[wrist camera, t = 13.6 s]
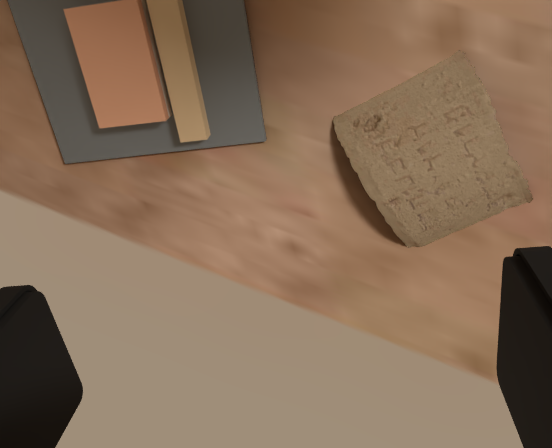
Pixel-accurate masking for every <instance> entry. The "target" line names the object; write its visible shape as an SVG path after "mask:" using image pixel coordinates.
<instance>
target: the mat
mask: <svg viewBox="0 0 552 448" xmlns="http://www.w3.org/2000/svg"><path fill="white" fill-rule="evenodd" d="M7 1H8V4H9V6H10V9H11V12H12V15H13V18H14V21H15V23H16V26H17V29H18V32H19V35H20V38H21V40H22V43H23V46H24V49H25V52H26V55H27V57H28V60H29V63H30V66H31V69H32V72H33V74H34V77H35V80H36V83H37V86H38V89H39V91H40V94H41V97H42V100H43V103H44V106H45V108H46V111H47V114H48V117H49V120H50V123H51V125H52V128H53V131H54V134H55V137H56V140H57V142H58V145H59V148H60V151H61V154H62V157H63V159H64V162H65V164H68V163H77V162H86V161H95V160H104V159H113V158H122V157H131V156H139V155H148V154H157V153H166V152H175V151H184V150H193V149H202V148H210V147H219V146H228V145H237V144H246V143H255V142H264V141H266V133H265V127H264V121H263V115H262V109H261V102H260V96H259V90H258V84H257V78H256V71H255V65H254V59H253V53H252V47H251V41H250V34H249V28H248V22H247V16H246V10H245V3H244V0H145V1H146V5H147V9H148V14H149V18H150V22H151V26H152V31H153V35H154V39H155V43H156V48H157V52H158V56H159V60H160V65H161V69H162V73H163V77H164V82H165V86H166V90H167V95H168V99H169V103H170V107H171V112H172V115H171V116H170V117H169V118H168V119H167V120H166V121H161V122H152V123H144V124H135V125H126V126H117V127H109V128H100V129H99V125H98V122H97V119H96V115H95V112H94V109H93V105H92V102H91V99H90V96H89V92H88V89H87V86H86V82H85V79H84V76H83V72H82V69H81V66H80V63H79V59H78V56H77V53H76V49H75V46H74V43H73V39H72V36H71V33H70V30H69V26H68V23H67V20H66V16H65V13H64V10H63V9H67V8H72V7H77V6H84V5H90V4H97V3H103V2H110V1H116V0H7Z"/></svg>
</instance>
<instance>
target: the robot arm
mask: <svg viewBox="0 0 552 448" xmlns="http://www.w3.org/2000/svg"><path fill="white" fill-rule="evenodd" d="M497 376H498V381H499V385H500V388H501V390H502V393H503V395H504V398H505V401H506V403H507V406H508V408H509V411H510V413H511V416H512V419H513V421H514V424H515V426H516V429H517V431H518V434H519V437H520V439H521V442H522V444H523V447H524V448H552V248H551V247H550V246H543V247H529V248H517V249H515V251H514V253H513V257H505V258H504V261H503V270H502V286H501V303H500V319H499V336H498V352H497ZM82 394H83V387H82V383H81V381H80V379H79V376H78V374H77V371H76V369H75V367H74V364H73V362H72V360H71V357H70V355H69V353H68V350H67V348H66V345H65V343H64V341H63V338H62V336H61V334H60V331H59V329H58V327H57V324H56V322H55V320H54V317H53V315H52V313H51V310H50V308H49V305H48V303H47V301H46V298H45V297H44V295H43V294H42V293H41V292H39V291H37V290H36V289H35V288H34V287H33V286H30V285H24V286H11V287H3V288H1V289H0V448H55V447H56V445H57V443H58V441H59V440H60V438H61V436H62V434H63V432H64V431H65V429H66V427H67V425H68V423H69V422H70V420H71V418H72V416H73V414H74V413H75V411H76V409H77V407H78V405H79V404H80V402H81V399H82Z"/></svg>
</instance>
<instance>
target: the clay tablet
mask: <svg viewBox="0 0 552 448" xmlns="http://www.w3.org/2000/svg"><path fill="white" fill-rule="evenodd" d="M495 114H496V110H495V109H494V108H493V107H492V106H491V99H490V96H489V95H488V94H487V92H486V89H485V87H484V86H483V85H482V82H481V81H480V78H478V77H477V76H476V74H475V67H473V66H472V65H469V60H468V59H466V58H465V53H464V52H461V51H460V50H458V51H457V52H456V53H455V54H453V55H452V56H451V57H449V58H447V59H445V60H443V61H441V62H440V63H438V64H436V65H435V66H433V67H431V68H429V69H427V70H426V71H424V72H422V73H420V74H418V75H416V76H414V77H412V78H411V79H409V80H407V81H405V82H403V83H401V84H400V85H398V86H396V87H394V88H392V89H390V90H388V91H385V92H383V93H381V94H379V95H377V96H375V97H374V98H372V99H370V100H369V101H367V102H364V103H362V104H360V105H358V106H356V107H354V108H352V109H350V110H348V111H346V112H344V113H342V114H340V115H338V116H336V117H334V120H333V123H334V125H335V127H334V129H335V132H336V134H337V139H338V140H339V141H340V142H341V146H342V147H344V149H345V153H346V156H347V157H348V158H350V162H351V166H352V168H353V169H354V171H355V172H357V173H358V177H359V179H360V181H361V183H362V185H363V187H364V189H365V191H366V192H367V194H368V195H369V197H370V198H371V199H372V200H374V201H375V202H376V205H377V208H378V210H379V211H380V212H381V213H382V215H383V216H384V217H385V221H386V222H387V223H388V224H389V225H390V226H391V227H392V229H393V231H394V233H396V235H397V236H398V237H399V238H400V239H401V240H403V241H402V242H404V243H405V245H406V246H408V248H409V247H422V246H425V245H427V244H429V243H432V242H434V241H435V240H437V239H440V238H443V237H445V236H447V235H449V234H451V233H453V232H456V231H459V230H461V229H464V228H466V227H468V226H471V225H473V224H475V223H477V222H479V221H482V220H484V219H487V218H489V217H491V216H493V215H496V214H499V213H501V212H502V211H504V210H505V209H507V208H510V207H515V206H519V205H521V204H524V203H526V202H528V203H530V202H531V201H532V200H533V198H532V195H531V193H530V190H527V188H528V187H529V185H528V180H527V179H524V178H523V172H522V170H521V168H520V166H519V165H518V164H517V161H515V160H513V158H512V157H511V156H509V154H508V149H509V148H508V144H507V143H505V140H504V138H503V137H502V130H501V127H500V124H499V123H498V121H497V120H496V118H495Z"/></svg>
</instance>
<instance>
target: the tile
mask: <svg viewBox="0 0 552 448" xmlns="http://www.w3.org/2000/svg"><path fill="white" fill-rule="evenodd" d="M63 10H64V13H65V16H66V20H67V23H68V26H69V30H70V33H71V36H72V39H73V43H74V46H75V49H76V53H77V56H78V59H79V63H80V66H81V69H82V72H83V76H84V79H85V82H86V86H87V89H88V92H89V96H90V99H91V102H92V105H93V109H94V112H95V115H96V119H97V122H98V125H99V129H100V128H109V127H117V126H126V125H135V124H144V123H152V122H161V121H166V120H167V119H168V118H169V117H170V116H171V115H172V112H171V107H170V103H169V99H168V95H167V90H166V86H165V82H164V77H163V73H162V69H161V65H160V60H159V56H158V52H157V48H156V43H155V39H154V35H153V31H152V26H151V22H150V18H149V14H148V9H147V5H146V1H145V0H116V1H110V2H103V3H97V4H90V5H84V6H77V7H72V8H67V9H63Z"/></svg>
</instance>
